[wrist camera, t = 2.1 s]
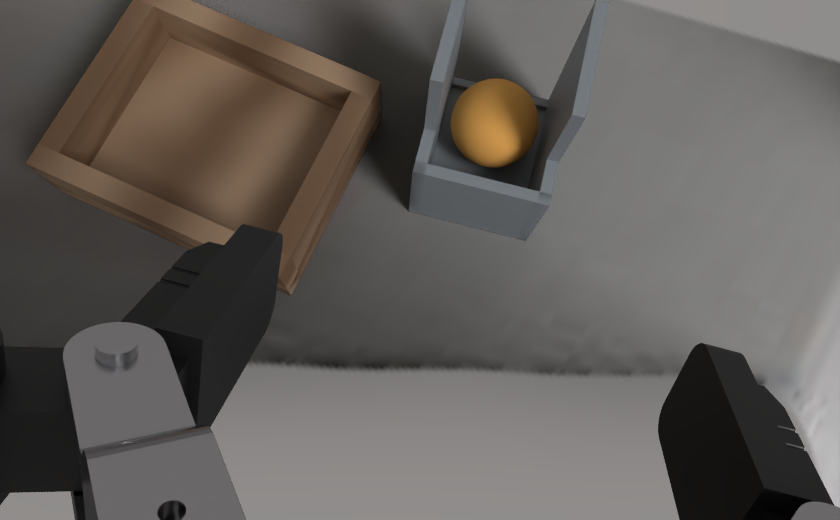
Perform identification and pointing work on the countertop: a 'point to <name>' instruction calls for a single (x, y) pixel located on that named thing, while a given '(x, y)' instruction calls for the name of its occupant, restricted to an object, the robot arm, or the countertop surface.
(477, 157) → the ball
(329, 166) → the tray
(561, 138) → the holder
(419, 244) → the countertop surface
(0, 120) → the countertop surface
